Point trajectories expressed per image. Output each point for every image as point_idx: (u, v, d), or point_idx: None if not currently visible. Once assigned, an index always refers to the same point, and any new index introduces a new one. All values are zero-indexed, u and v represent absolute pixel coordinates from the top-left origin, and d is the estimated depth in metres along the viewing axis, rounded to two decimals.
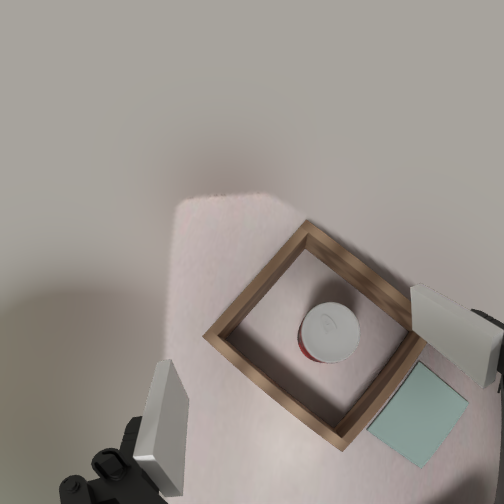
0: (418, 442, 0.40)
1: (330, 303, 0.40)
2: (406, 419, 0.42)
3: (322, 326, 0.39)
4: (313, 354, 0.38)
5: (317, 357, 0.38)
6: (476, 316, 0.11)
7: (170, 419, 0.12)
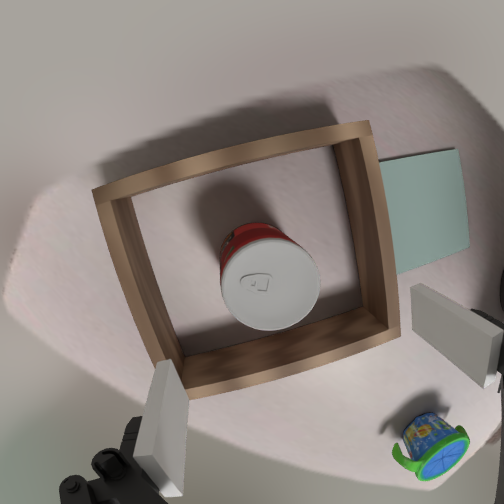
0: (447, 231, 0.37)
1: (231, 262, 0.24)
2: (417, 227, 0.36)
3: (255, 291, 0.25)
4: (282, 327, 0.26)
5: (289, 324, 0.26)
6: (476, 316, 0.11)
7: (170, 419, 0.12)
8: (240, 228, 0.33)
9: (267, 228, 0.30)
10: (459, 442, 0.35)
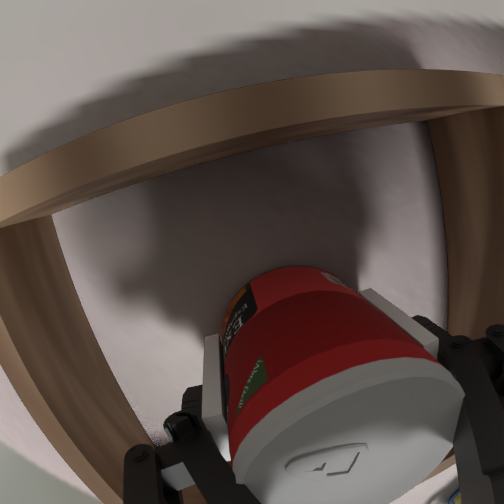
0: None
1: (265, 442, 0.07)
2: None
3: (322, 476, 0.08)
4: None
5: None
6: (415, 323, 0.12)
7: None
8: (266, 282, 0.15)
9: (334, 293, 0.12)
10: None
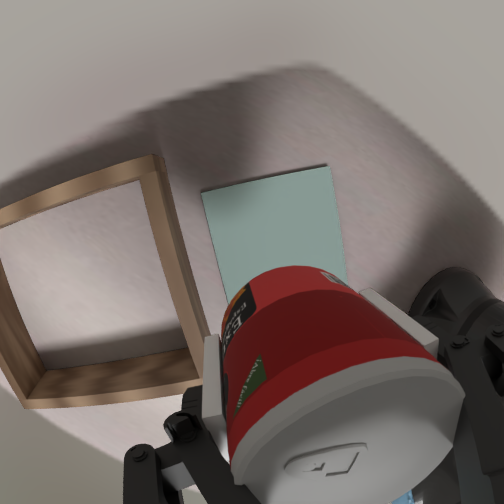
0: None
1: (263, 442, 0.07)
2: (262, 263, 0.35)
3: (321, 477, 0.08)
4: None
5: None
6: (415, 323, 0.12)
7: None
8: (265, 281, 0.15)
9: (333, 292, 0.12)
10: None
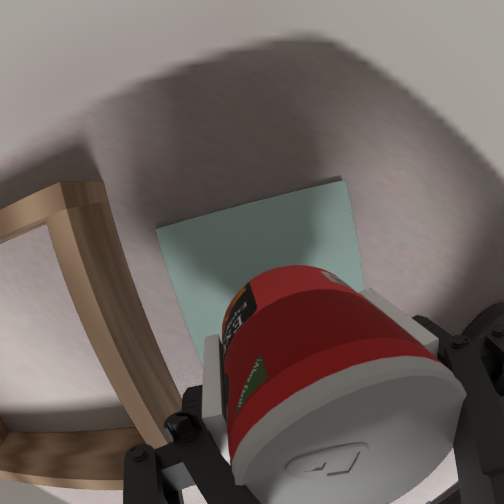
0: None
1: (264, 441, 0.07)
2: None
3: (322, 477, 0.08)
4: None
5: None
6: (415, 323, 0.12)
7: None
8: (265, 281, 0.15)
9: (334, 291, 0.12)
10: None
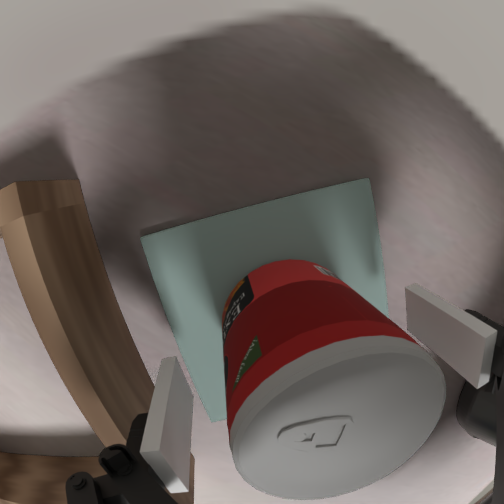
0: None
1: (258, 408, 0.08)
2: None
3: (311, 449, 0.09)
4: (354, 489, 0.10)
5: (369, 483, 0.10)
6: (470, 316, 0.11)
7: (176, 415, 0.12)
8: (262, 273, 0.16)
9: (323, 282, 0.14)
10: None
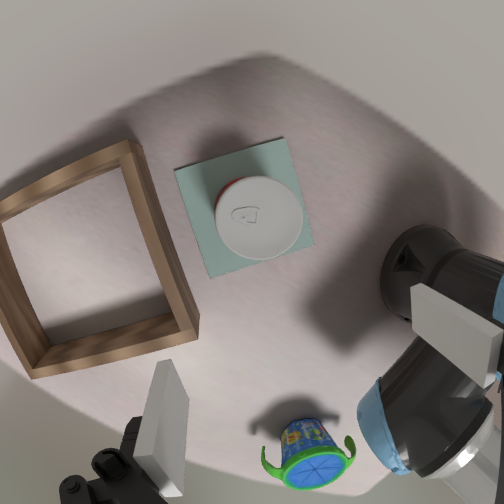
0: None
1: (223, 197, 0.27)
2: None
3: (245, 223, 0.29)
4: (271, 256, 0.29)
5: (278, 254, 0.29)
6: (476, 316, 0.11)
7: (170, 419, 0.12)
8: (231, 181, 0.36)
9: None
10: (329, 456, 0.39)
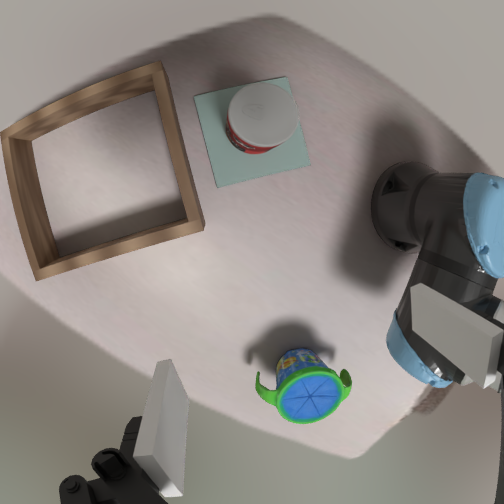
0: (276, 149, 0.44)
1: (236, 95, 0.32)
2: None
3: (252, 117, 0.33)
4: (272, 144, 0.34)
5: (278, 142, 0.34)
6: (476, 316, 0.11)
7: (170, 419, 0.12)
8: None
9: None
10: (325, 378, 0.43)
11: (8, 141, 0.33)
